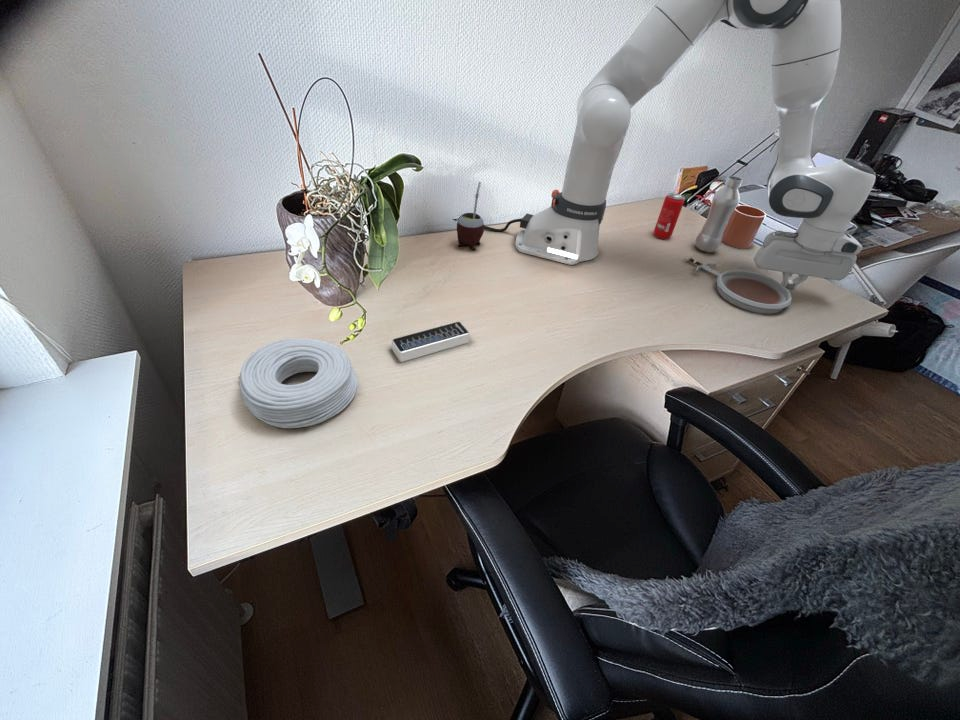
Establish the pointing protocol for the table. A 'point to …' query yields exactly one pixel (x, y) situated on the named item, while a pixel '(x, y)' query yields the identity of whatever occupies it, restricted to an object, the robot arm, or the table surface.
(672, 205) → the beverage can
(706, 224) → the plastic bottle
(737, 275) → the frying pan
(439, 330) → the multiport hub
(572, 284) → the table surface
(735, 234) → the mug
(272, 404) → the cable
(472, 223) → the mate gourd
